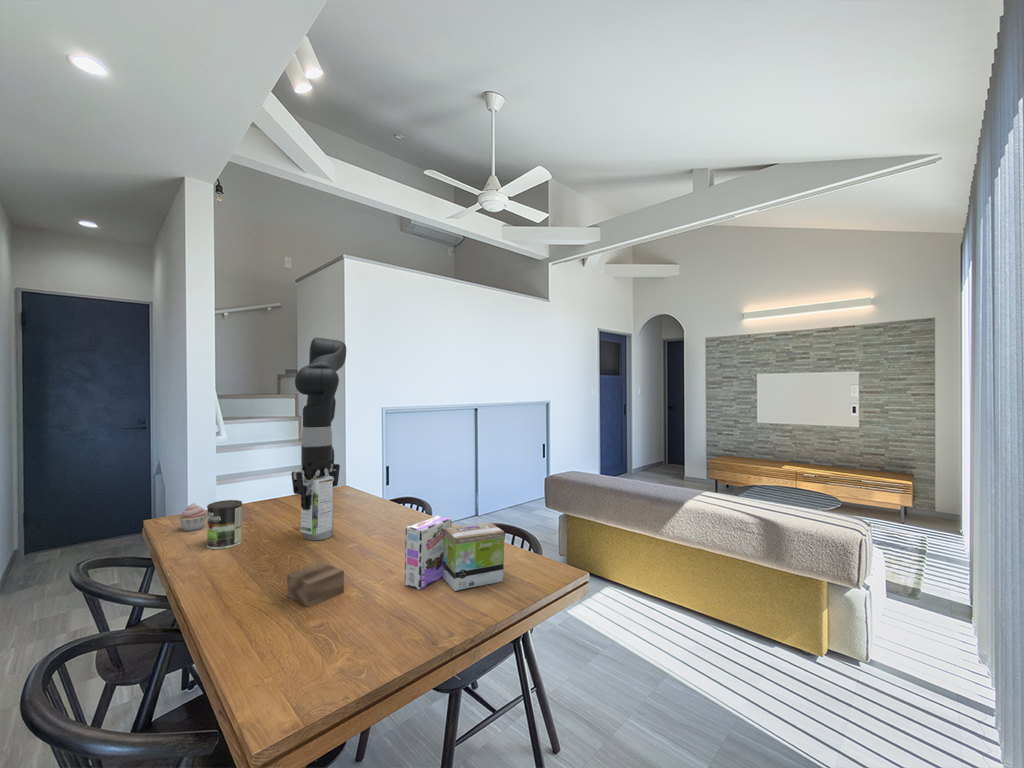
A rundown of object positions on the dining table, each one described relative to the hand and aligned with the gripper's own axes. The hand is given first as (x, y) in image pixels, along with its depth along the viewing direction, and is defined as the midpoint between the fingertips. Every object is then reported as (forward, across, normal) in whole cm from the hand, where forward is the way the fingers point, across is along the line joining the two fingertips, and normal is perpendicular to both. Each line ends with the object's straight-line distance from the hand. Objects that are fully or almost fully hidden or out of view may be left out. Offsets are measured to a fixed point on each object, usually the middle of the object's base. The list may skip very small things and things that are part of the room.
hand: (316, 506), depth 120 cm
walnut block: (+24, 0, 0) cm, 24 cm away
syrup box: (+7, 0, 0) cm, 7 cm away
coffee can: (+24, -13, -59) cm, 65 cm away
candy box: (+24, -21, +21) cm, 38 cm away
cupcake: (+24, -18, -86) cm, 91 cm away
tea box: (+24, -26, +33) cm, 48 cm away
